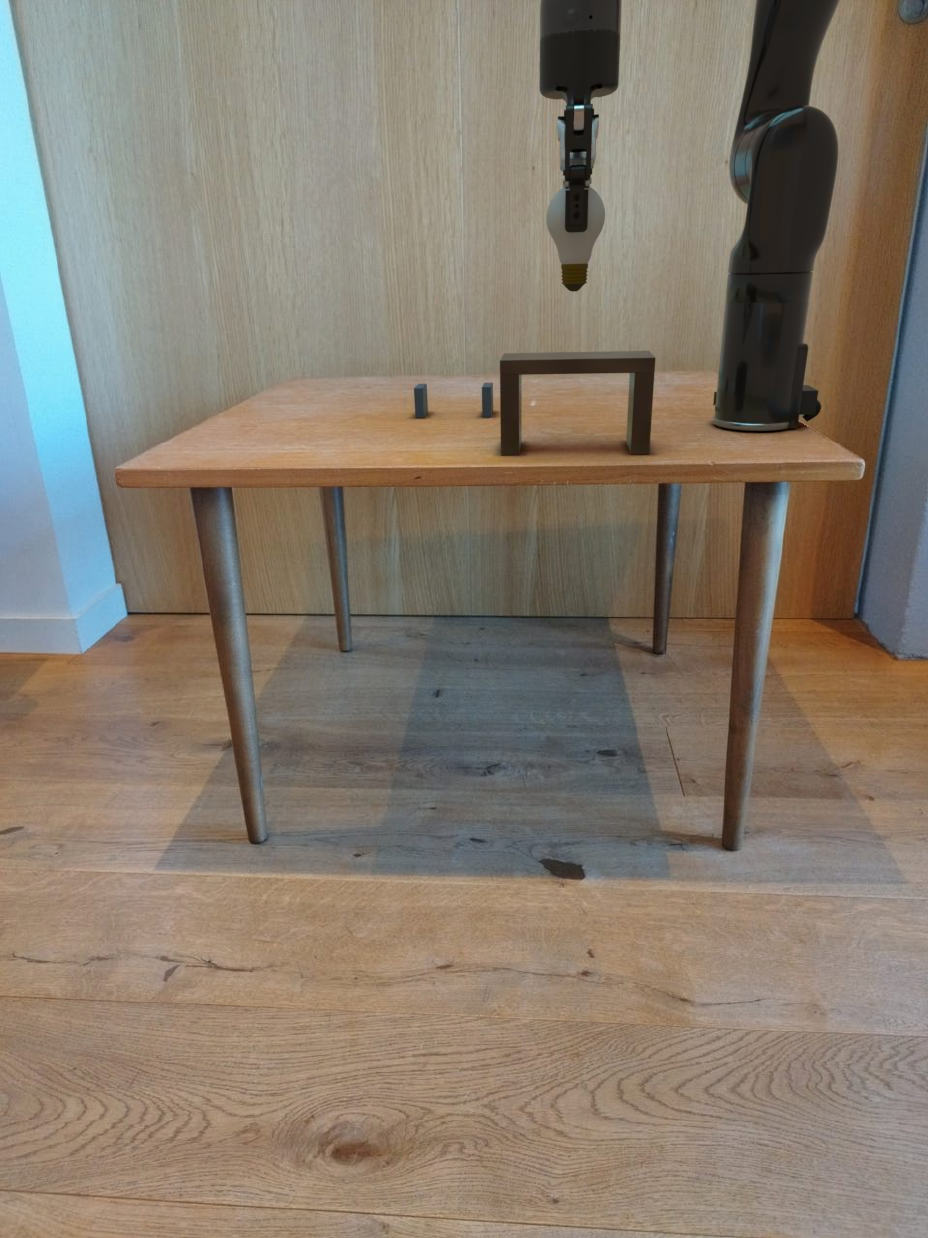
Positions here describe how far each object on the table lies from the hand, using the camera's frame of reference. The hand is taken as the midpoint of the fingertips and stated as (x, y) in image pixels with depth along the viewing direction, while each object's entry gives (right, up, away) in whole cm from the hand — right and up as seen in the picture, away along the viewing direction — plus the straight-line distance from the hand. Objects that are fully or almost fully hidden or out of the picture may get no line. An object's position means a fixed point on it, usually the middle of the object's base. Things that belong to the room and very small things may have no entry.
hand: (575, 232), depth 83 cm
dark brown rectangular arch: (+1, -20, +8) cm, 22 cm away
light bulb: (0, -5, +2) cm, 6 cm away
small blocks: (-13, -11, +30) cm, 34 cm away
